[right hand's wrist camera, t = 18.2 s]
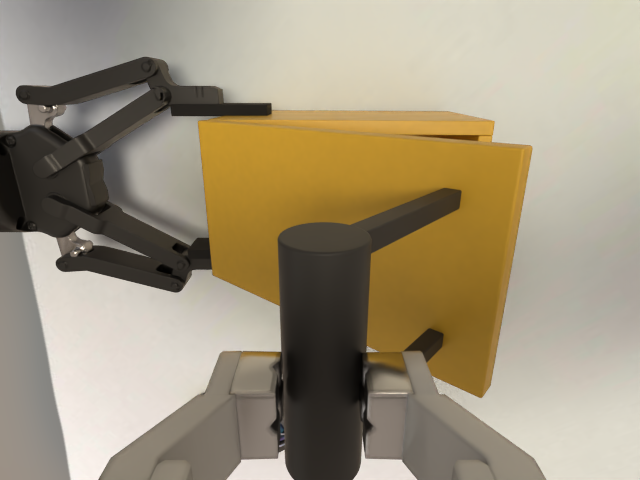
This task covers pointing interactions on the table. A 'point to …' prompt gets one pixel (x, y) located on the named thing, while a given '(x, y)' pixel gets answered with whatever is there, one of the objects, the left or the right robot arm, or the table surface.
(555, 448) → the table surface
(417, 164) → the lid
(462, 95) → the table surface
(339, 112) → the chest
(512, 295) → the table surface
